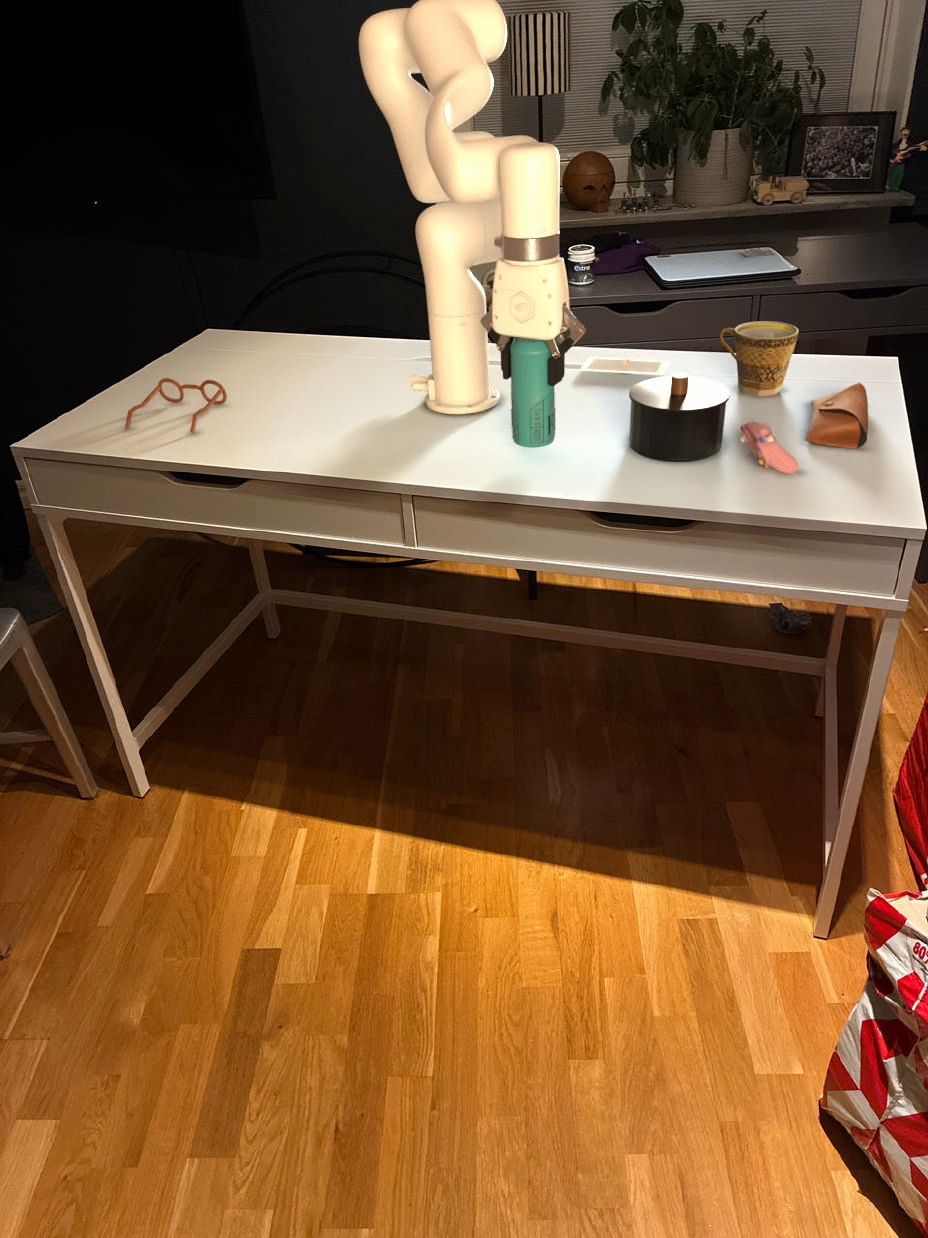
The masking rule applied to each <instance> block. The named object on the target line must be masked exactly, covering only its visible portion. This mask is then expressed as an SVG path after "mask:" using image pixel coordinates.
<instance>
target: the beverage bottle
mask: <svg viewBox="0 0 928 1238" xmlns="http://www.w3.org/2000/svg"><path fill="white" fill-rule="evenodd" d="M510 356H511V377H510V386H509V387H510V404H511V408H510V415H511V417H510V419H511V431H512V436H511V438H512V440H513V442H514V444H515V445H516V446H517V445H518V446H520V447H523V448H534V449H535V448H536V449H537V448H542V447H546V446H549V445H551V444H552V443H554V440H555V438H556V434H557V431H556V429H557V428H556V426H557V425H556V423H557V422H556V420H557V419H556V392H555V386H549V384H548V359H549V358H550V357H552V354H551V352H550V349H549V347H548V344H547V342H546V340H537V339H529V338H520V337H516V338H515V340H514V341H513V342H512V344H511V345H510Z"/></svg>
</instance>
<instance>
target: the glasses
mask: <svg viewBox="0 0 928 1238" xmlns="http://www.w3.org/2000/svg"><path fill="white" fill-rule="evenodd" d="M163 383H170V384H173V385H174V386H175V387H176V388H177V389H178V391H179V397H178V398H170V397H169V396H168V395H167V394H166V393H165V392H164V390H163ZM207 385H213V386H216V387H217V388H218V390H217V392H216V393H215V394H214V395H213V396H212V397H211V398H210V397H209V396H208V395H207V393H206V391H205V386H207ZM184 389H190V390H191V389H192V390H199V391H200V393H201V395H202V397H203V398H204V400H205V401H206V402H208V403H207V404H206V405H205V406H204V407H202V408H200V409H198V410H196V412H195V413H194V414H193V415H192V420H191V425H190V429H189V430H190V431H189V432H190V433H191V434H195V430H196V426H197V419H198V417H199V416H200V415H201V414H203V413H205V412H207V411H209V409H210V408H211V407H212V406H213V405H216V406H221V405H224V404H225V403H226V401H227V398H228V396H227V391H226V389H225V388H224V386H223V384H221V383H220V382H218V381H216V380H214V379H213V380H212V379H207V380H204V381H203V382H201V383H200V385H197V384H190V383H189V384H188V383H187V384H182V385H181V383H179V382H178V381H176V380H175V379H173V378H168V377H165V378H162V379H160V380H159V381H158V383H157V386H155V388H154V389H153V390H152V391H151V392H150V393H149V394H148V396H147V397H146V398H145V399H144V400H143V401H142V402H141V403H140V404H137V405H134V406H133V407H131V408H130V409H129V410H128V411H127V414H126V415H127V416H126V421H125V426H124V428H125V429H126V431H127V430H130V427H131V422H132V416H133V413H134V412H135V411H137V410H139V409H142V408H145V406H147V404H148V403H149V402H150V401H151V400H152V399H153V398H154V397H155V396H156V394H158V392H159V394H160V396H161V397H162V398H163V399H164V400H165V401H167V402H169V403H173V404H178V403H181V402H182V401H183V400H184V397H185V394H184ZM221 395H222V398H221V400H218V398H219V397H220V396H221Z"/></svg>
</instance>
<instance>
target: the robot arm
mask: <svg viewBox="0 0 928 1238" xmlns="http://www.w3.org/2000/svg"><path fill="white" fill-rule="evenodd" d="M507 38H508V29H507V21H506V16H505V14H504V12H503V9H502V7H501V6H500V4H499V3H498V2H497V0H417V2H415V3H414V4H413V5H412V6H411V7H405V8H404V7H403V8H393V9H388V10H383V11H380V12H377V13H375V14H373V15H371V16H370V17H368V18H367V19H366V20H365V21H364V22H363V23H362V25H361V27H360V31H359V35H358V53H359V59H360V66H361V69H362V73H363V77H364V79H365V82H366V84H367V87H368V89H369V92H370V94H371V95H372V98H373V99H374V101H375V103H376V105H377V107H378V108H379V110H380V112H381V113H382V115H383V117H384V119H385V120H386V122H387V124H388V126H389V129H390V131H391V135H392V138H393V141H394V144H395V145H394V146H395V147H396V151H397V154H398V157H399V160H400V164H401V166H402V170H403V173H404V176H405V179H406V182H407V184H408V187H409V190H410V192H411V194H412V195H413V197H414V198H415V199H416V200H417V201H419V202H421V203H424V204H425V203H426V204H433V205H431V206H428V207H427V208H425V209H424V210H423V211H422V212H421V213H420V214H419V216H418V217H417V220H416V222H415V227H414V228H415V241H416V246H417V249H418V253H419V259H420V262H421V263H420V264H421V267H422V273H423V278H424V287H425V295H426V307H427V318H428V331H429V344H430V345H429V346H430V357H431V368H432V369H431V371H432V374H428V376H424V375H411V376H410V386H411V387H412V390H413V391H419V392H421V391H425V392H426V393H427V394H426V395H425V399H424V400H425V406H426V407H427V408H428V409H429V410H431V411H434V412H436V413H440V414H445V415H446V414H447V415H470V414H476V413H480V412H484V411H487V410H489V409H491V408H493V407H495V406H496V405H497V404H498V403H499V402H500V392H499V391H498V390H497V388H494V387H493V386H491V385H490V362H489V361H490V360H489V339H488V338H490V339H491V341H493V343H494V344H495V345H496V349H497V350H498V351H499V352H500V369H501V372H502V379H503V380H506V381H507V380H509V379H511V356H510V345H511V344H512V342H513V341H514V340H515V339H516V338H518V337H520V338H529V339H537V340H546V342H547V344H548V347H549V349H550V352H551V354H552V357H550V358H549V359H548V384H549V386H554V387H555V386H556V385H558V384H559V383H560V382H562V381H563V378H564V377H565V374H566V373H565V371H566V370H565V366H566V365H565V363H566V362H565V361H566V360H565V358H566V357H565V356H566V354H567V353H568V352H569V350H570V349H571V348H572V347H573V346H574V345H575V344H576V343H577V342H579V340H580V339H581V338H582V337H583V336H584V335H585V334H586V331H587V329H586V327H585V326H584V325H583V324H582V323H581V321H580V320H579V319H578V318H577V316H575V315H574V314H573V312H572V311H571V310H570V294H569V293H570V292H569V282H568V276H567V269H566V264H565V260H564V258H563V257H561V256H560V154H559V150H558V148H557V147H556V146H555V145H554V144H551V143H549V142H539V141H538V140H536V139H535V138H534V137H531V136H529V135H522V134H521V135H508V136H501V137H499V136H496V137H495V136H494V135H493V134H492V133H490V132H488V131H481V130H473V131H462V132H453V130H455V129H456V128H457V127H459V126H460V125H462V124H463V123H465V122H466V121H468V120H470V119H471V118H472V117H473V116H475V115H477V113H479V112H481V110H482V109H483V108H484V107H485V106H486V104H487V103H488V101H489V99H490V97H491V95H492V92H493V89H494V77H493V74H492V71H491V68H490V66H489V65H488V64H489V63H493V62H494V61H495V60H497V59H498V58H500V56H501V55H502V54H503V52H504V50H505V48H506V44H507ZM411 74H421V75H422V77H423V79H424V81H425V84H426V85H427V88H425V86H423V84H421V83H420V82H418V81H417V80H416V79H414V78H413V77H412V75H411ZM489 263H495V269H494V274H493V281H492V282H493V283H492V297H491V308H490V309H489V311H487V299H486V293H485V289H484V287H483V286H482V285H481V283H480V282H479V280H477V278H476V277H475V276H474V275H473V273H472V271H471V270H470V268H472V267H473V266H478V265H482V264H483V265H484V264H489ZM567 330H569V335H568V336H567V337H566V338H565V336H564V334H563V333H564V332H566V331H567ZM488 335H489V336H488Z"/></svg>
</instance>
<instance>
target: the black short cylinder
mask: <svg viewBox="0 0 928 1238" xmlns="http://www.w3.org/2000/svg"><path fill="white" fill-rule="evenodd" d="M726 407H727V402H726V403H725V404H724V405H722V406H720V407H718V408H715V409H712V410H707V411H702V412H695V413H667V412H659V411H654V410H650V409H646V408H643V407H641V406H638V405H637V404H635V403H634V402H632V401H631V400H630V418H629V419H630V420H629V447H630V448H631V450H632V451H633V452H634V453H636V454H637V455H639V456H642V457H643V458H646V459H650V460H653V461H660V462H665V463H690V462H696V461H697V462H698V461H701V460H705V459H709V458H712V457H713V456H715V455H716V454H718V453H719V452H720V451H721V449H722V445H723V438H724V430H725V429H724V427H725V420H726V419H725V417H726Z"/></svg>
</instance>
